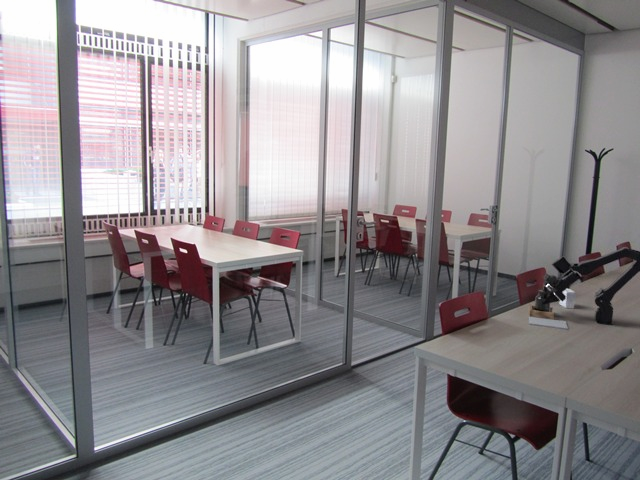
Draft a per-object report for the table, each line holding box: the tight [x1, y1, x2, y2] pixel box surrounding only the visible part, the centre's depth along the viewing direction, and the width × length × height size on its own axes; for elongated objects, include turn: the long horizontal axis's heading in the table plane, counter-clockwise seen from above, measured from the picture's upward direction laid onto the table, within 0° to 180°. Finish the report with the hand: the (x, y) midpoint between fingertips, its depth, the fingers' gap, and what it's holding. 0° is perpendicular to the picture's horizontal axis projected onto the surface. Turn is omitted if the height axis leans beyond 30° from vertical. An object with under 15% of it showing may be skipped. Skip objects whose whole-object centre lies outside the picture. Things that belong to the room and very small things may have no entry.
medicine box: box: [558, 288, 576, 309], centre depth 264 cm, size 8×4×9 cm, turn 179°
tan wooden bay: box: [528, 304, 555, 320], centre depth 248 cm, size 10×11×3 cm
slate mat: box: [528, 316, 569, 330], centre depth 235 cm, size 16×11×1 cm
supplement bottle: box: [534, 289, 551, 312], centre depth 247 cm, size 7×7×12 cm
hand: (539, 301), depth 247 cm, fingers open, 8 cm apart
